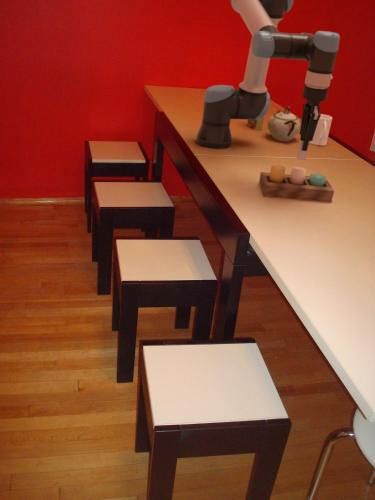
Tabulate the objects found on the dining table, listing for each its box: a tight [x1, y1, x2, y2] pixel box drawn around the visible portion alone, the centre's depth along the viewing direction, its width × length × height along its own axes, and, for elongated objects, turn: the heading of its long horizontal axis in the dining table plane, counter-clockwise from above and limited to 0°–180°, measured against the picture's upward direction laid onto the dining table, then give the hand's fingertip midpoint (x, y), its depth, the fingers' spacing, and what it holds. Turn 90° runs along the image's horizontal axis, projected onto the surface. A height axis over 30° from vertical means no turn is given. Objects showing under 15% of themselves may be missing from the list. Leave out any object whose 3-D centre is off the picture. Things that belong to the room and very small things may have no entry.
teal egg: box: [309, 173, 327, 187], centre depth 169 cm, size 5×5×5 cm
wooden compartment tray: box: [258, 171, 335, 203], centre depth 170 cm, size 23×12×4 cm, turn 90°
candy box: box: [246, 116, 265, 131], centre depth 236 cm, size 9×4×15 cm, turn 23°
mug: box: [309, 113, 333, 147], centre depth 222 cm, size 12×8×12 cm
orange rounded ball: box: [269, 164, 286, 183], centre depth 168 cm, size 5×5×5 cm
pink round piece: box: [289, 166, 307, 185], centre depth 168 cm, size 5×5×5 cm
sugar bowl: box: [267, 105, 301, 142], centre depth 223 cm, size 20×15×15 cm
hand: (301, 158), depth 166 cm, fingers closed
